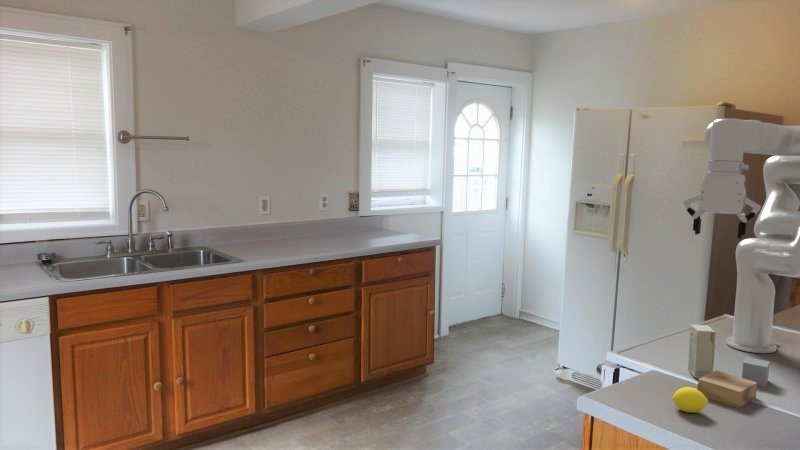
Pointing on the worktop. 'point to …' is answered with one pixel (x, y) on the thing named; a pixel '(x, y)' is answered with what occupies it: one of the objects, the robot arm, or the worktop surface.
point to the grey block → (756, 370)
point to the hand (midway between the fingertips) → (718, 235)
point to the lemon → (689, 400)
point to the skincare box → (701, 350)
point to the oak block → (727, 388)
